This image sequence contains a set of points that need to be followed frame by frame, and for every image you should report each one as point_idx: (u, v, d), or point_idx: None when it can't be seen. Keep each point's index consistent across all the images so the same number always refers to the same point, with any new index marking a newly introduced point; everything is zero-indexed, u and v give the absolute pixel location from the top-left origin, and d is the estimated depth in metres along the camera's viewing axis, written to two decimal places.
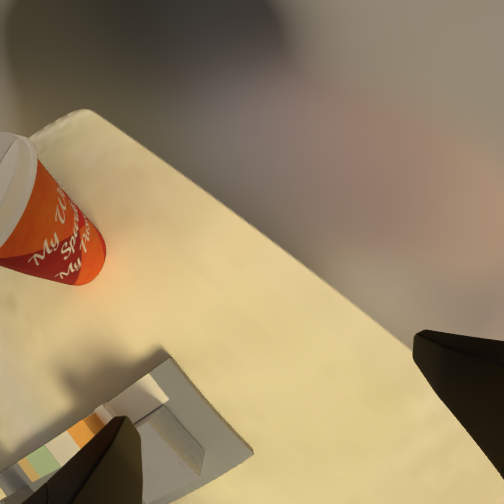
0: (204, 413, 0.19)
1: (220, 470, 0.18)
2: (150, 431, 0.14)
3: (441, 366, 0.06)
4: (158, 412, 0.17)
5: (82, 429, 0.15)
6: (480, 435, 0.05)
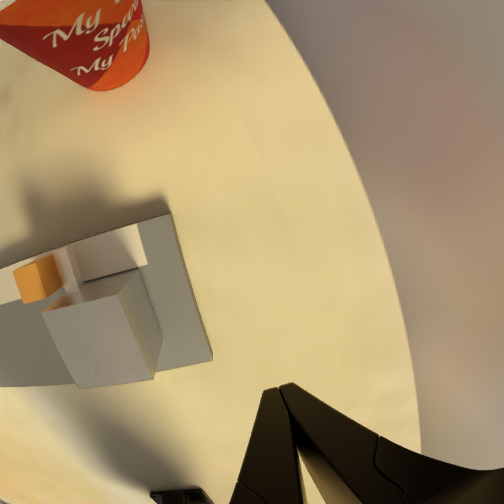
0: (181, 295, 0.17)
1: (169, 364, 0.18)
2: (115, 308, 0.12)
3: (294, 431, 0.06)
4: (131, 280, 0.15)
5: (31, 275, 0.12)
6: None
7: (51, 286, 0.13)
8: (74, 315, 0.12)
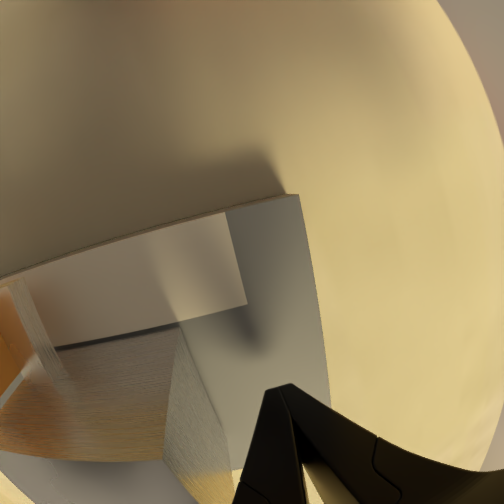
0: (307, 356, 0.09)
1: None
2: (158, 481, 0.03)
3: None
4: (174, 371, 0.06)
5: None
6: None
7: (3, 370, 0.05)
8: (46, 472, 0.03)
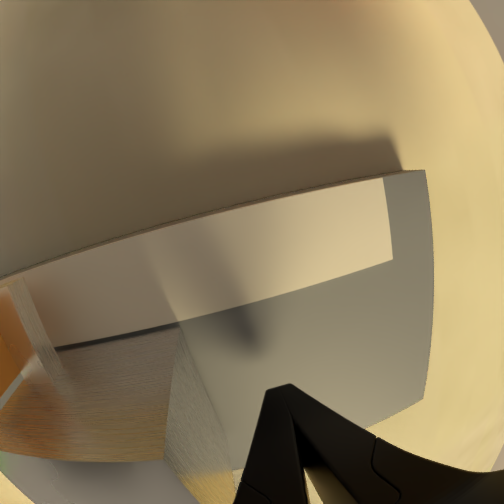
0: (421, 310, 0.09)
1: (368, 421, 0.10)
2: (160, 481, 0.03)
3: None
4: (175, 370, 0.06)
5: None
6: None
7: (3, 370, 0.05)
8: (46, 473, 0.03)
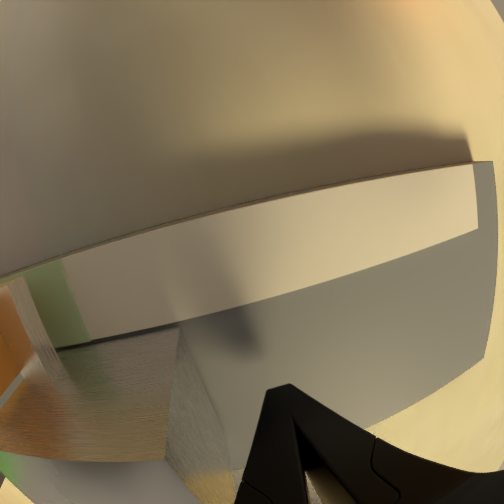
0: (490, 274, 0.10)
1: (448, 377, 0.11)
2: (161, 481, 0.03)
3: None
4: (176, 370, 0.06)
5: None
6: None
7: (3, 370, 0.04)
8: (47, 472, 0.03)
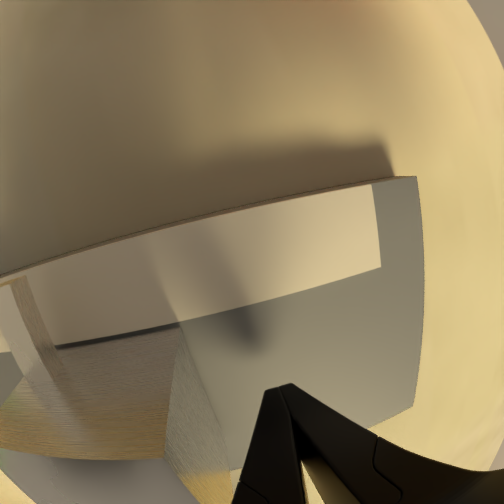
0: (411, 318, 0.09)
1: None
2: (159, 479, 0.03)
3: None
4: (175, 370, 0.06)
5: None
6: None
7: None
8: (46, 470, 0.03)
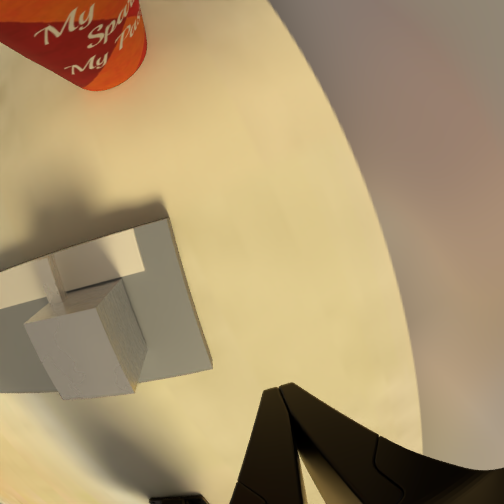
0: (179, 302, 0.17)
1: (168, 372, 0.18)
2: (94, 321, 0.11)
3: (294, 431, 0.06)
4: (112, 291, 0.14)
5: None
6: None
7: None
8: (54, 327, 0.11)
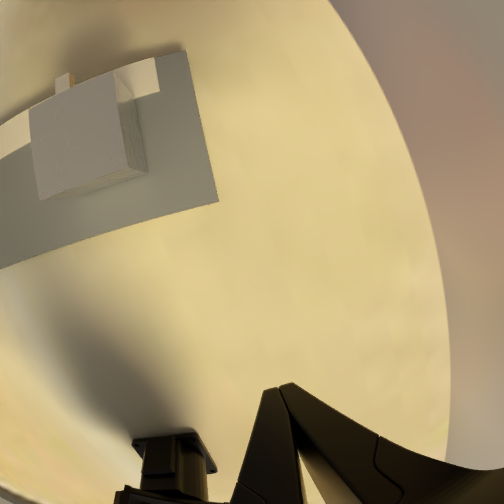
0: (190, 121, 0.15)
1: (167, 207, 0.16)
2: (107, 84, 0.10)
3: (293, 431, 0.06)
4: (126, 89, 0.12)
5: None
6: None
7: None
8: (61, 101, 0.10)
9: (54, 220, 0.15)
